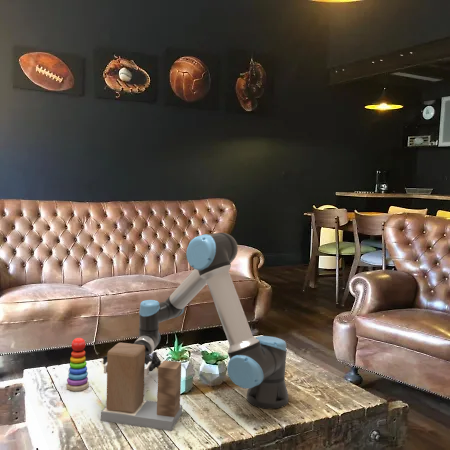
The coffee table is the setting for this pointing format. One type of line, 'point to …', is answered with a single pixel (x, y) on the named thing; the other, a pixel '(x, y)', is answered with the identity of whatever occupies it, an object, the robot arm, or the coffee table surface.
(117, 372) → the block
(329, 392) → the coffee table surface
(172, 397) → the walnut pillar
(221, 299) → the robot arm
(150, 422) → the foundation
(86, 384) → the stacking toy
